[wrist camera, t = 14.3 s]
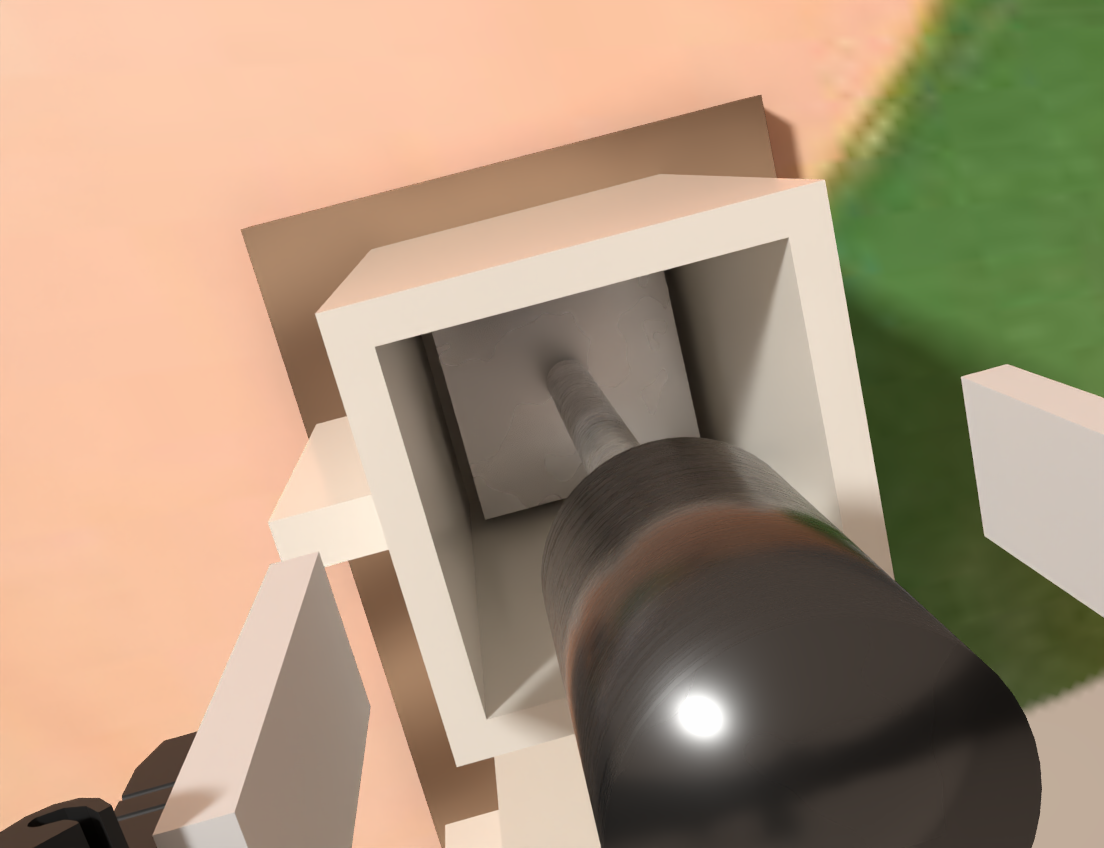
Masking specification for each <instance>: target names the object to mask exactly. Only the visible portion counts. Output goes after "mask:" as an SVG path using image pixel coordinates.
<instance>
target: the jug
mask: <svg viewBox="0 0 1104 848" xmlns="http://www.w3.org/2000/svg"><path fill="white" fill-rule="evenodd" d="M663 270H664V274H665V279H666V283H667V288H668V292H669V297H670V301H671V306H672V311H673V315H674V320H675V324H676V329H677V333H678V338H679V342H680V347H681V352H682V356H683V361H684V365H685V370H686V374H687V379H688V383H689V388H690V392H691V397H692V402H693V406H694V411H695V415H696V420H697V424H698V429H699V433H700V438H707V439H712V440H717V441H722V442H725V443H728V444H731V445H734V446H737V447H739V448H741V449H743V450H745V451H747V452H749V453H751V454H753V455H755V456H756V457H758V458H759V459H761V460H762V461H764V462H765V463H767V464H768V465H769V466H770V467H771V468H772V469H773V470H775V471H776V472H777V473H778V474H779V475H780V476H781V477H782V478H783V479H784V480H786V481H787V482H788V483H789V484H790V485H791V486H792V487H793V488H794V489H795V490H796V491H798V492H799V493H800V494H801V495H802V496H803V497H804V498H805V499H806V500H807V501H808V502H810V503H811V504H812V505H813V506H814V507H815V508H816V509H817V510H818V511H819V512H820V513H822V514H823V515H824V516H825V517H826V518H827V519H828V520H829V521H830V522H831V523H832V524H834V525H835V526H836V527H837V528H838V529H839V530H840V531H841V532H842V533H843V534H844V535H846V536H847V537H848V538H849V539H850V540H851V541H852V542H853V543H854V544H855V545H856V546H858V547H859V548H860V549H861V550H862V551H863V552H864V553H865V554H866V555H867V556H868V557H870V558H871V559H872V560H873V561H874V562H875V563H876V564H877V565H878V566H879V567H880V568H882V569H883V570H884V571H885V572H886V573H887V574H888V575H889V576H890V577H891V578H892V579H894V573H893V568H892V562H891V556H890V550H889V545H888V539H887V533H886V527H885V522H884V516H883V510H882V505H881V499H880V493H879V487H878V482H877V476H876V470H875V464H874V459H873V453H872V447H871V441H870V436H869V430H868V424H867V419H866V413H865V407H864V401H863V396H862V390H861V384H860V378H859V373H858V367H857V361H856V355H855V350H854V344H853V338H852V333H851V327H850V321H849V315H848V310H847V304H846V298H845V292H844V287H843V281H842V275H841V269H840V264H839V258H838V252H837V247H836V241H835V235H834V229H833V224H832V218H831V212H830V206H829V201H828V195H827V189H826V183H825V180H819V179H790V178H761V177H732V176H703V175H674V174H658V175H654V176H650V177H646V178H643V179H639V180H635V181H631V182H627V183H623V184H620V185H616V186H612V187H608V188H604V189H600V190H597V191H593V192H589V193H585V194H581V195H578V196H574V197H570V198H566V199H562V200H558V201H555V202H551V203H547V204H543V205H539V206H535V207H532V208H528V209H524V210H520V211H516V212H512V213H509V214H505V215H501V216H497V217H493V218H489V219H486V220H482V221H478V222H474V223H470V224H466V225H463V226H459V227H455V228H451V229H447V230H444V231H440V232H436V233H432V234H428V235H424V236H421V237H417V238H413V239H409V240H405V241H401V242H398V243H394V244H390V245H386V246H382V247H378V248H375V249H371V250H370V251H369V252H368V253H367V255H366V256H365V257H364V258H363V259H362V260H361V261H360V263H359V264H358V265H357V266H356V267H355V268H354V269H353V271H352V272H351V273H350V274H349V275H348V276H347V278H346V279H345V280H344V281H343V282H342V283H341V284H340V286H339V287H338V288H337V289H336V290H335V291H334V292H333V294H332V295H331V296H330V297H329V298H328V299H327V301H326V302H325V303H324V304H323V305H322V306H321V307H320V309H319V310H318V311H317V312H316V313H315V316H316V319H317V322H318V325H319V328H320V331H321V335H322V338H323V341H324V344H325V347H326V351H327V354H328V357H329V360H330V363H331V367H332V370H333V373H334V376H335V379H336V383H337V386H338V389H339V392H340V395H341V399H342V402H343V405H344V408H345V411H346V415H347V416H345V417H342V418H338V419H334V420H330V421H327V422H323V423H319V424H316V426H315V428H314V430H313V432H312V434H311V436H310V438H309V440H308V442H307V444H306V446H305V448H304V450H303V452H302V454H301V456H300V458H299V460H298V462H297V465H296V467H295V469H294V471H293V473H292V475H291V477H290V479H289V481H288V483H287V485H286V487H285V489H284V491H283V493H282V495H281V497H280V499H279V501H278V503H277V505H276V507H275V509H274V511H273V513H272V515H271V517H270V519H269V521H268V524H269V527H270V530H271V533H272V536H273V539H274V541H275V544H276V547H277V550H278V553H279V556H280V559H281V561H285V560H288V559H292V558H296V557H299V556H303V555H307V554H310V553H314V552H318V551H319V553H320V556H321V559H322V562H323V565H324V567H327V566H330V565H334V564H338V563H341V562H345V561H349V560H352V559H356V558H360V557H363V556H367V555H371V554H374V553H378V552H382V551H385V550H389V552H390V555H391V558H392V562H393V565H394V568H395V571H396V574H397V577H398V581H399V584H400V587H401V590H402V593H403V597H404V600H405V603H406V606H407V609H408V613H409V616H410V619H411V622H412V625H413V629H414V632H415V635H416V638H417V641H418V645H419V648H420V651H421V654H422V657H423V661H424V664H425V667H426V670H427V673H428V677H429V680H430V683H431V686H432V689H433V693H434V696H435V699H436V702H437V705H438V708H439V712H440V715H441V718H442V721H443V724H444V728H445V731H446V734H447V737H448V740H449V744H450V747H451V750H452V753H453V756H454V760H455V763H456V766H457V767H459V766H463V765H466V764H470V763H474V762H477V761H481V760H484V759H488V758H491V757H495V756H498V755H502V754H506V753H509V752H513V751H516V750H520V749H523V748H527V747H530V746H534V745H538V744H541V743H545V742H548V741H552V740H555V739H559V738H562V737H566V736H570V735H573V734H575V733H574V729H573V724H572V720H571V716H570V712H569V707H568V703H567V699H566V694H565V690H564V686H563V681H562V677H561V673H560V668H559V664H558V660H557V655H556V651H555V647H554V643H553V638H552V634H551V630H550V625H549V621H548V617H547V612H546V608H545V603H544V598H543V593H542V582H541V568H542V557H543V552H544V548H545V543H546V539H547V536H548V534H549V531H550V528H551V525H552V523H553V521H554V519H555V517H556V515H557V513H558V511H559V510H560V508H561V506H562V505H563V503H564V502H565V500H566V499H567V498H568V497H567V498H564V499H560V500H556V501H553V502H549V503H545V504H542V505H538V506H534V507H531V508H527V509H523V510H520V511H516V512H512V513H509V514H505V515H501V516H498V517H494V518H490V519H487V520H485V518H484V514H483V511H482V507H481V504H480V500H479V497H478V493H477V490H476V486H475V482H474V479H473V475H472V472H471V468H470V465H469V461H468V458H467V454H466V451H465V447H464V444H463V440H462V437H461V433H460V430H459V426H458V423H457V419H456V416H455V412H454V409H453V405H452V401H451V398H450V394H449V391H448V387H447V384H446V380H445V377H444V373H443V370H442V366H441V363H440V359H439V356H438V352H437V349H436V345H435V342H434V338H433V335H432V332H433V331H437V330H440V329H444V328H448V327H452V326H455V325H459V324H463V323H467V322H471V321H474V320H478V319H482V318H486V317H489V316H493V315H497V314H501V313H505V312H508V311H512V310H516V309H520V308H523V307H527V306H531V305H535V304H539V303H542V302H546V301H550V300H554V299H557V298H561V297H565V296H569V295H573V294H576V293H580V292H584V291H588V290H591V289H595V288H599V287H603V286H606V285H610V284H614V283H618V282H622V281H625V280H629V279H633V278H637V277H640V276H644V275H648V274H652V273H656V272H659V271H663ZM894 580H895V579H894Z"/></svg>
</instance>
